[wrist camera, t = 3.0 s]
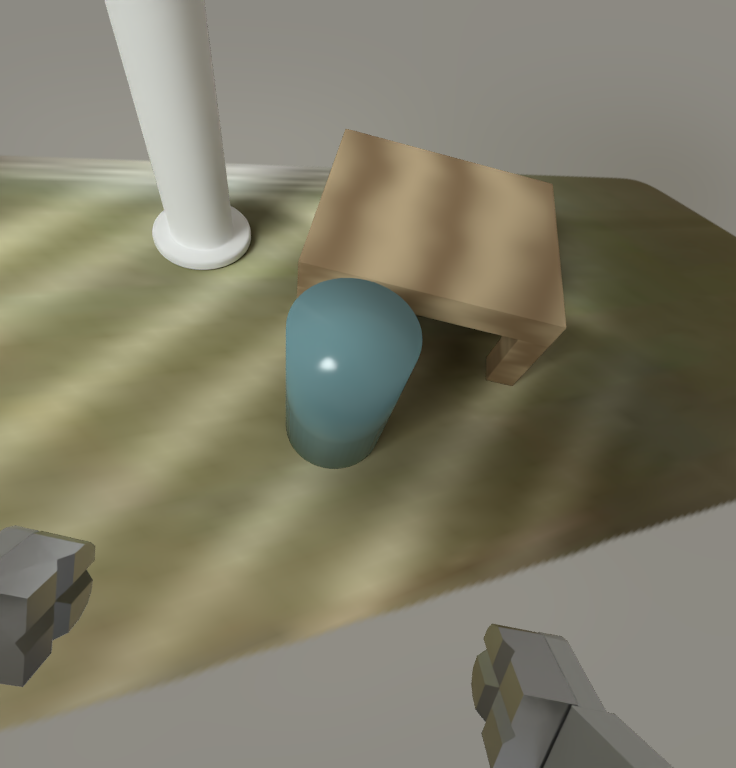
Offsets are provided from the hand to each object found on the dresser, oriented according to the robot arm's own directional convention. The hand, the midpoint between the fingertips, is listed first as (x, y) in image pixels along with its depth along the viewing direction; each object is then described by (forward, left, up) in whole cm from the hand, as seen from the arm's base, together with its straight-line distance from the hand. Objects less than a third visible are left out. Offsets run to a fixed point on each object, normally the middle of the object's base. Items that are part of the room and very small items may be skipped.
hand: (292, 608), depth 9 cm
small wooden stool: (+4, +24, -15) cm, 29 cm away
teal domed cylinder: (0, +11, -15) cm, 19 cm away
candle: (-13, +24, -15) cm, 31 cm away
